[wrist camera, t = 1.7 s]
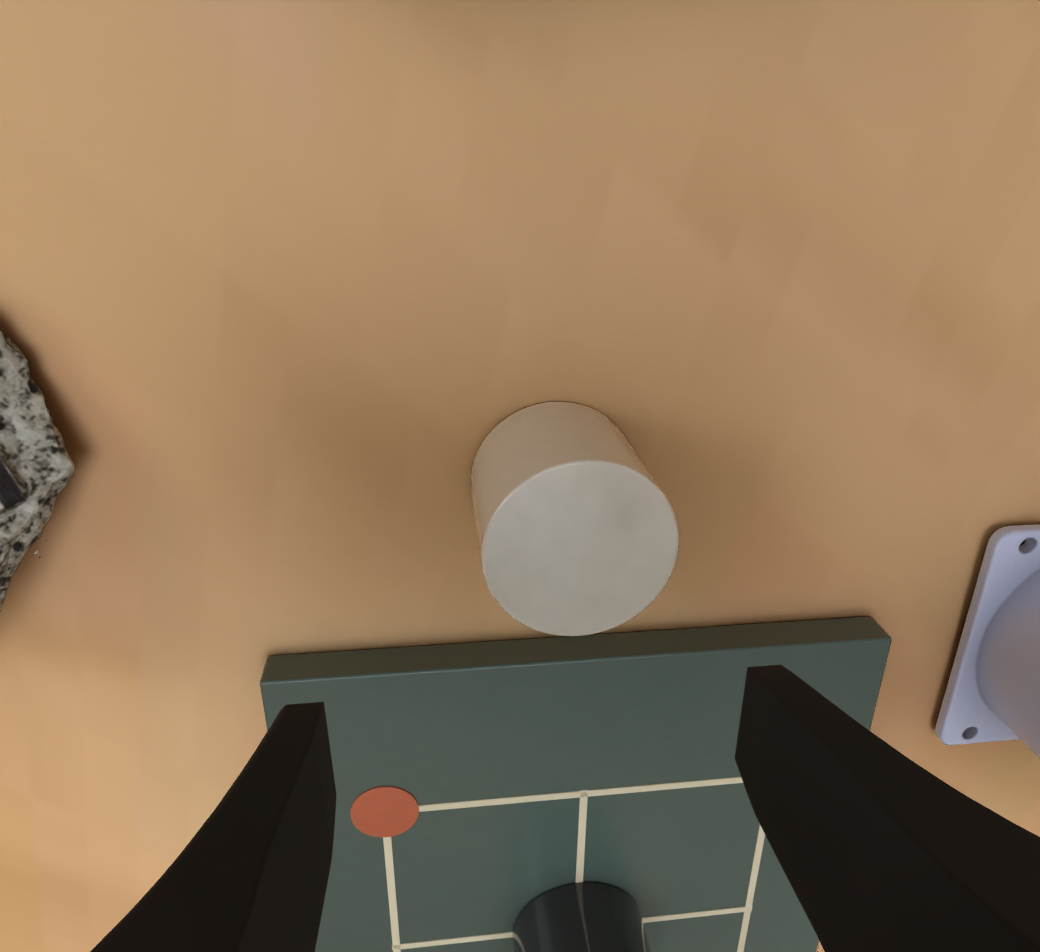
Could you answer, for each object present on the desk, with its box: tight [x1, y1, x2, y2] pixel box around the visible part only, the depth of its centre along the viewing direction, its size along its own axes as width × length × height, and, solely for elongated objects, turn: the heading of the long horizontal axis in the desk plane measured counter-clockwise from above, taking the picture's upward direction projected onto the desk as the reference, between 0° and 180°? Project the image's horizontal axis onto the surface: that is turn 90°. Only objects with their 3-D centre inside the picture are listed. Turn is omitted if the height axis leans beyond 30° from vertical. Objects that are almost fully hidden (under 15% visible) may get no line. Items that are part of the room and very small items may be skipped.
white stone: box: [470, 402, 679, 636], centre depth 19 cm, size 4×4×4 cm
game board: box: [260, 616, 891, 952], centre depth 26 cm, size 18×22×1 cm
